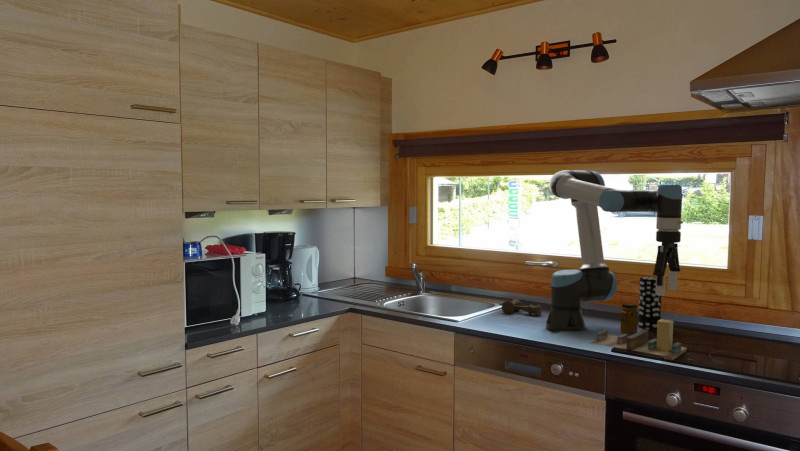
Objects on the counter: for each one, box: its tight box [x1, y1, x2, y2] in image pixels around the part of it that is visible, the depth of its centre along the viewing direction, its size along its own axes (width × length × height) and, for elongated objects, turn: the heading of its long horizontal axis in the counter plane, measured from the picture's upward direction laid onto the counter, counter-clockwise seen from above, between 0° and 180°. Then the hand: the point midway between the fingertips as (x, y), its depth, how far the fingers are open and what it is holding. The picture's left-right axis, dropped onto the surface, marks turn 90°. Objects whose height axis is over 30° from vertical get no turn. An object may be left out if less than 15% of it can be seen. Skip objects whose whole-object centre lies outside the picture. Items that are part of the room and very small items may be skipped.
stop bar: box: [656, 318, 674, 352], centre depth 197 cm, size 4×4×10 cm
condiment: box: [620, 302, 639, 335], centre depth 221 cm, size 7×8×12 cm
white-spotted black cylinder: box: [637, 276, 663, 331], centre depth 234 cm, size 8×8×20 cm
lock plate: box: [589, 328, 688, 361], centre depth 204 cm, size 28×16×5 cm, turn 49°
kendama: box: [499, 298, 543, 317], centre depth 261 cm, size 6×10×20 cm
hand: (666, 292), depth 197 cm, fingers open, 13 cm apart
